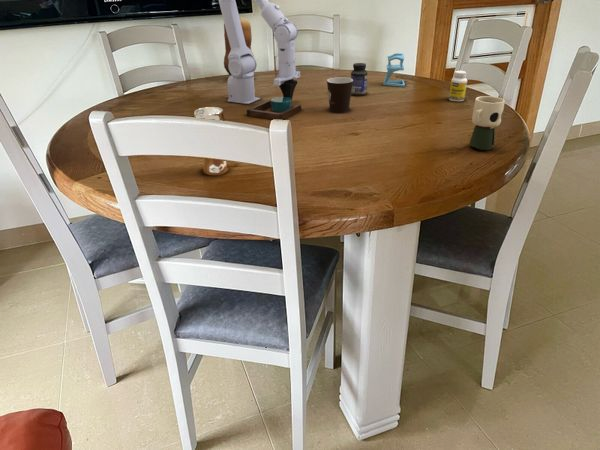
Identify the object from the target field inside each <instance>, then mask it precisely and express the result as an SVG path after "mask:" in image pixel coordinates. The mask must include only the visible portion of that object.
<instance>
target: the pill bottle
mask: <svg viewBox="0 0 600 450" xmlns="http://www.w3.org/2000/svg"><path fill="white" fill-rule="evenodd" d="M352 68H353V69H352V70H351V72H350V79H353V84H352V91H351V96H354V97H363V96H366V95H367V92H368V87H367V86H368V71H367V70H366V69H367V63H365V62H355V63H353V65H352Z"/></svg>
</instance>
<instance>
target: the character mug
mask: <svg viewBox="0 0 600 450" xmlns="http://www.w3.org/2000/svg"><path fill="white" fill-rule="evenodd" d="M505 102H506V101H505V99H504V98H502V97H499V96H492V95H482V96H477V97H475V100H474V106H473V110H472V116H471V123H472V124H474V125H475V126H474V128H473V130H472V134H471V136H470V140H469V144H468V145H469V146H471V147H473V148H475V149H477V150H481V151H482V150H484V151H490V150H492V148H493V149H494V148H495V142H496V141H495V140H496V139H495V138H496V128H495V127H499V126H500V125H501V123H502V115H503V113H504V109H505V104H506V103H505Z"/></svg>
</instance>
